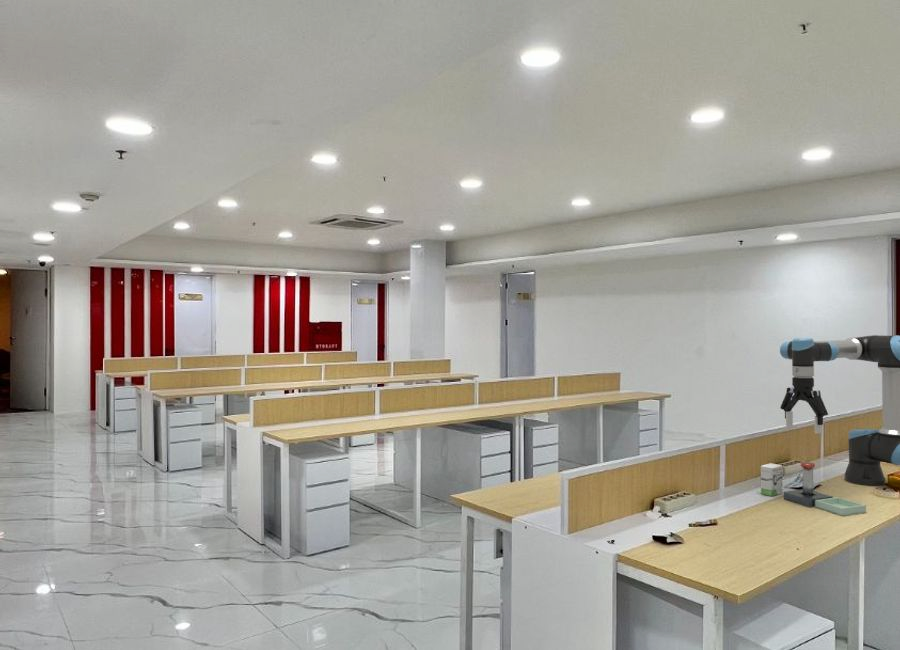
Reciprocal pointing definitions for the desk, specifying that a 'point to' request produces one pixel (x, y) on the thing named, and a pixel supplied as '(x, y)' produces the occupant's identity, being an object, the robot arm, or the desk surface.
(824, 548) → the desk surface
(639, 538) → the desk surface
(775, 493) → the ink box
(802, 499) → the block
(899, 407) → the robot arm
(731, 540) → the desk surface
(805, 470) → the red capped clear bottle
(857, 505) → the tray
